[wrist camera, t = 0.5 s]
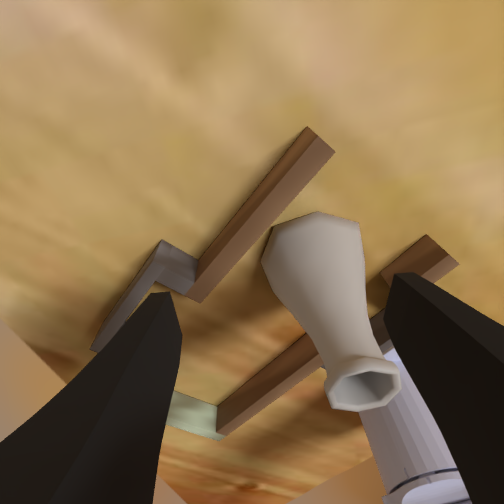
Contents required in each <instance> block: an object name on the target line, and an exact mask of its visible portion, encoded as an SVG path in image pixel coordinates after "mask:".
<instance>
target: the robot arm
mask: <svg viewBox="0 0 504 504" xmlns="http://www.w3.org/2000/svg"><path fill="white" fill-rule="evenodd" d="M383 321H384V324H385V326H386V329H387V331H388V334H389V336H390V339H391V341H392V344H393V346H392V347H390V348H389V349H388V350H386V351H385V352H383V353H382V354H383V356H384V357H385V359H386V360H388V361H392V362H394V363H395V365H396V366H397V367H398V369H399V371H400V378H401V386H402V389H401V390H400V392H399V393H398V394H397V395H396V396H395V397H394V398H393V399H392V400H391V401H390V402H389V403H388V404H387V405H386V406H382V407H377V408H373V409H368V410H364V411H360V412H358V413H359V415H360V418H361V421H362V424H363V427H364V430H365V433H366V435H367V438H368V441H369V444H370V447H371V450H372V453H373V455H374V458H375V461H376V464H377V467H378V470H379V473H380V475H381V478H382V481H383V484H384V487H385V490H386V493H387V495H385V496H382V500H383V503H384V504H504V326H503V325H501V324H499V323H497V322H496V321H494V320H492V319H490V318H489V317H487V316H485V315H484V314H482V313H480V312H479V311H477V310H475V309H474V308H472V307H470V306H469V305H467V304H465V303H464V302H462V301H461V300H459V299H457V298H456V297H454V296H452V295H451V294H449V293H448V292H446V291H444V290H443V289H441V288H440V287H438V286H436V285H435V284H433V283H431V282H430V281H428V280H426V279H425V278H423V277H421V276H420V275H418V274H416V273H414V272H407V273H394V276H393V280H392V284H391V288H390V292H389V296H388V300H387V305H386V309H385V313H384V317H383ZM181 345H182V333H181V329H180V326H179V322H178V319H177V315H176V312H175V308H174V305H173V301H172V298H171V294H170V292H159V293H151V294H150V295H149V296H148V297H147V298H146V299H145V300H144V302H143V303H142V304H141V305H140V306H139V307H138V309H137V310H136V311H135V312H134V313H133V314H132V316H131V317H130V318H129V319H128V320H127V322H126V323H125V324H124V325H123V326H122V327H121V328H120V330H119V331H118V332H117V333H116V334H115V335H114V336H113V337H112V339H111V340H110V341H109V342H108V343H107V344H106V345H105V346H104V348H103V349H102V350H101V351H100V352H99V353H98V354H97V355H96V356H95V357H94V358H93V359H92V360H91V361H90V362H89V363H88V364H87V365H86V366H85V367H84V368H83V370H82V371H81V372H80V373H79V374H78V375H77V376H76V377H75V378H74V379H73V380H72V381H71V382H69V383H68V384H67V385H66V386H65V387H64V388H63V389H62V390H61V391H60V392H59V393H58V394H57V395H56V396H54V397H53V398H52V399H51V400H50V401H49V402H48V403H47V404H46V405H45V406H43V407H42V408H41V409H40V410H39V411H38V412H37V413H35V414H34V415H33V416H32V417H31V418H30V419H29V420H27V421H26V422H25V423H24V424H22V425H21V426H20V427H19V428H17V429H16V430H15V431H14V432H13V433H11V434H10V435H9V436H8V437H6V438H5V439H4V440H3V441H2V442H0V504H152V503H153V496H154V488H155V481H156V474H157V467H158V460H159V454H160V448H161V443H162V438H163V434H164V429H165V425H166V421H167V417H168V412H169V408H170V404H171V399H172V395H173V391H174V386H175V382H176V378H177V373H178V369H179V363H180V354H181Z"/></svg>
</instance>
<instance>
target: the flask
mask: <svg viewBox="0 0 504 504" xmlns="http://www.w3.org/2000/svg"><path fill="white" fill-rule="evenodd" d="M260 262H261V264H262V267H263V269H264V272H265V274H266V276H267V279H268V281H269V284H270V286H271V288H272V291H273V292H274V294H275V295H276V296H277V297H278V299H279V300H280V301H281V302H282V303H283V304H284V305H285V307H286V308H287V309H288V310H289V311H290V312H291V313H292V315H293V316H294V317H295V318H296V320H297V321H298V322H299V324H300V325H301V326H302V327H303V329H304V330H305V331H306V333H307V334H308V335H309V336H310V338H311V339H312V341H313V343H314V345H315V347H316V349H317V351H318V352H319V354H320V356H321V358H322V360H323V362H324V365H325V369H326V372H327V378H326V380H325V382H324V389H325V392H326V395H327V398H328V400H329V403H330V406H331V408H332V409H338V410H345V411H353V412H360V411H364V410H368V409H373V408H377V407H382V406H386V405H387V404H388V403H389V402H390V401H391V400H392V399H393V398H394V397H395V396H396V395H397V394H398V393H399V392H400V390H401V389H402V386H401V378H400V371H399V369H398V367H397V366H396V365H395V363H394V362H392V361H388V360H386V359H385V357H384V356H383V354H382V352H381V350H380V348H379V346H378V344H377V342H376V340H375V338H374V336H373V332H372V329H371V325H370V321H369V318H368V314H367V302H366V289H365V258H364V252H363V246H362V240H361V234H360V229H359V223H358V222H354V221H351V220H347V219H344V218H340V217H336V216H333V215H329V214H326V213H322V212H315V213H312V214H309V215H306V216H303V217H300V218H297V219H294V220H291V221H288V222H285V223H282V224H279V225H276V226H274V228H273V230H272V233H271V236H270V238H269V241H268V243H267V246H266V248H265V251H264V253H263V256H262V258H261V261H260Z"/></svg>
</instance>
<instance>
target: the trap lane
mask: <svg viewBox="0 0 504 504" xmlns="http://www.w3.org/2000/svg"><path fill="white" fill-rule="evenodd" d="M334 153H335V151H334V150H333V149H332V148H331V147H330V146H329V145H328V144H326V143H325V142H324V141H323V140H322V139H321V138H320V137H319V136H318V135H317V134H315V133H314V132H313V131H312V130H311V129H310V128H309V127H308V126H307V127H306V128H305V129H304V131H303V132H302V133H301V134H300V136H299V137H298V138H297V139H296V141H295V142H294V143H293V144H292V146H291V147H290V148H289V149H288V150H287V152H286V153H285V154H284V155H283V157H282V158H281V159H280V160H279V162H278V163H277V164H276V165H275V167H274V168H273V169H272V170H271V171H270V173H269V174H268V175H267V176H266V178H265V179H264V180H263V181H262V183H261V184H260V185H259V186H258V188H257V189H256V190H255V191H254V192H253V194H252V195H251V196H250V197H249V199H248V200H247V201H246V202H245V204H244V205H243V206H242V207H241V209H240V210H239V211H238V212H237V213H236V215H235V216H234V217H233V218H232V220H231V221H230V222H229V223H228V225H227V226H226V227H225V228H224V230H223V231H222V232H221V233H220V234H219V236H218V237H217V238H216V239H215V241H214V242H213V243H212V244H211V246H210V247H209V248H208V249H207V251H206V252H205V253H204V254H203V255H202V257H201V258H200V259H199V260H197V259H195V258H194V257H192V256H190V255H188V254H187V253H185V252H183V251H181V250H180V249H178V248H176V247H174V246H173V245H171V244H169V243H167V242H166V241H164V240H161V241H160V243H159V244H158V246H157V247H156V248H155V250H154V251H153V253H152V254H151V256H150V257H149V258H148V260H147V261H146V263H145V264H144V265H143V267H142V268H141V270H140V271H139V273H138V274H137V275H136V277H135V278H134V280H133V281H132V283H131V284H130V285H129V287H128V288H127V290H126V291H125V292H124V294H123V295H122V297H121V298H120V300H119V301H118V302H117V304H116V305H115V307H114V308H113V310H112V311H111V312H110V314H109V315H108V317H107V318H106V319H105V321H104V322H103V324H102V326H101V328H100V330H99V332H98V334H97V336H96V338H95V340H94V342H93V344H92V345H91V347H90V350H92V351H95V352H97V353H99V352H100V351H101V350H102V349H103V348H104V346H105V345H106V344H107V343H108V342H109V341H110V340H111V339H112V337H113V336H114V335H115V334H116V333H117V332H118V331H119V330H120V328H121V327H122V326H123V325H124V324H125V323H126V321H125V320H126V319H127V318H128V316H129V315H130V314H131V312H132V311H133V310H134V308H135V307H136V306H137V304H138V303H139V302H140V300H141V299H142V298H143V296H144V295H145V294H146V292H147V291H148V290H149V288H150V287H151V286H152V284H153V283H154V282H155V281H157V282H159V283H161V284H163V285H165V286H167V287H169V288H171V289H173V290H175V291H176V292H178V293H180V294H182V295H184V296H186V297H188V298H190V299H192V300H194V301H196V302H198V303H201V302H202V301H203V300H204V299H205V298H206V297H207V296H208V294H209V293H210V292H211V291H212V290H213V289H214V288H215V287H216V285H217V284H218V283H219V282H220V281H221V280H222V279H223V278H224V277H225V275H226V274H227V273H228V272H229V271H230V270H231V269H232V268H233V266H234V265H235V264H236V263H237V262H238V261H239V260H240V259H241V257H242V256H243V255H244V254H245V253H246V252H247V251H248V250H249V249H250V247H251V246H252V245H253V244H254V243H255V242H256V241H257V240H258V238H259V237H260V236H261V235H262V234H263V233H264V232H265V231H266V229H267V228H268V227H269V226H270V225H271V224H272V223H273V222H274V220H275V219H276V218H277V217H278V216H279V215H280V214H281V213H282V212H283V210H284V209H285V208H286V207H287V206H288V205H289V204H290V203H291V201H292V200H293V199H294V198H295V197H296V196H297V195H298V194H299V192H300V191H301V190H302V189H303V188H304V187H305V186H306V185H307V184H308V182H309V181H310V180H311V179H312V178H313V177H314V176H315V175H316V173H317V172H318V171H319V170H320V169H321V168H322V167H323V166H324V164H325V163H326V162H327V161H328V160H329V159H330V158H331V157H332V156H333V154H334ZM458 265H459V263H458V262H457V261H456V260H455V259H454V258H452V257H451V256H450V255H449V254H448V253H447V252H446V251H445V250H444V249H442V248H441V247H440V246H439V245H438V244H437V243H436V242H435V241H434V240H432V239H431V238H430V237H429V236H428V235H427V234H426V235H425V236H424V237H423V238H422V239H420V240H419V241H418V242H417V243H415V244H414V245H413V246H412V247H411V248H409V249H408V250H407V251H406V252H405V253H403V254H402V255H401V256H400V257H398V258H397V259H396V260H395V261H394V262H392V263H391V264H390V265H389V266H388V267H386V268H385V269H384V270H383V271H381V272H380V274H381V275H382V277H383V278H384V279H385V281H386V282H387V284H388V285H389V287H390V288H391V284H392V280H393V276H394V273H407V272H414V273H416V274H418V275H420V276H421V277H423V278H425V279H426V280H428V281H430V282H431V283H435V282H436V281H438V280H439V279H440V278H442V277H443V276H444V275H446V274H447V273H448V272H450V271H451V270H452V269H454V268H455V267H457V266H458ZM385 309H386V308H385ZM385 309H383V310H382V311H381V312H379V313H378V314H377V315H375V316H374V317H373V318H371V319H370V320H369V321H370V325H371V329H372V332H373V336H374V338H375V340H376V342H377V344H378V346H379V348H380V350H381V352H382V353H383V352H385V351H386V350H388V349H389V348H390V347H392V346H393V344H392V341H391V339H390V336H389V334H388V331H387V329H386V326H385V324H384V321H383V317H384V313H385ZM319 367H322V368H324V369H325V365H324V362H323V360H322V358H321V356H320V354H319V352H318V351H317V349H316V347H315V345H314V343H313V341H312V339H311V338H310V336H309V335H308V334H307V333H306V334H305V335H304V336H303V337H301V338H300V339H299V340H298V341H296V342H295V343H294V344H293V345H292V346H290V347H289V348H288V349H287V350H286V351H284V352H283V353H282V354H281V355H279V356H278V357H277V358H276V359H275V360H273V361H272V362H271V363H270V364H269V365H267V366H266V367H265V368H264V369H262V370H261V371H260V372H259V373H258V374H256V375H255V376H254V377H253V378H252V379H250V380H249V381H248V382H247V383H245V384H244V385H243V386H242V387H241V388H239V389H238V390H237V391H236V392H235V393H233V394H232V395H231V396H230V397H228V398H227V399H226V400H225V401H224V402H222V403H221V404H220V405H219V406H218V407H217V406H214V405H211V404H208V403H206V402H203V401H200V400H198V399H195V398H192V397H189V396H187V395H184V394H181V393H179V392H176V391H173V395H172V399H171V404H170V408H169V412H168V417H167V421H166V425H169V426H172V427H176V428H179V429H182V430H185V431H188V432H191V433H195V434H198V435H201V436H204V437H207V438H210V439H213V440H217V441H220V440H222V439H223V438H224V437H226V436H227V435H228V434H230V433H231V432H232V431H234V430H235V429H237V428H238V427H239V426H241V425H242V424H243V423H245V422H246V421H247V420H249V419H250V418H251V417H253V416H254V415H256V414H257V413H258V412H260V411H261V410H262V409H264V408H265V407H266V406H268V405H269V404H271V403H272V402H273V401H275V400H276V399H277V398H279V397H280V396H281V395H283V394H284V393H285V392H287V391H288V390H290V389H291V388H292V387H294V386H295V385H296V384H298V383H299V382H300V381H302V380H303V379H304V378H306V377H307V376H309V375H310V374H311V373H313V372H314V371H315V370H317V369H318V368H319Z"/></svg>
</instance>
